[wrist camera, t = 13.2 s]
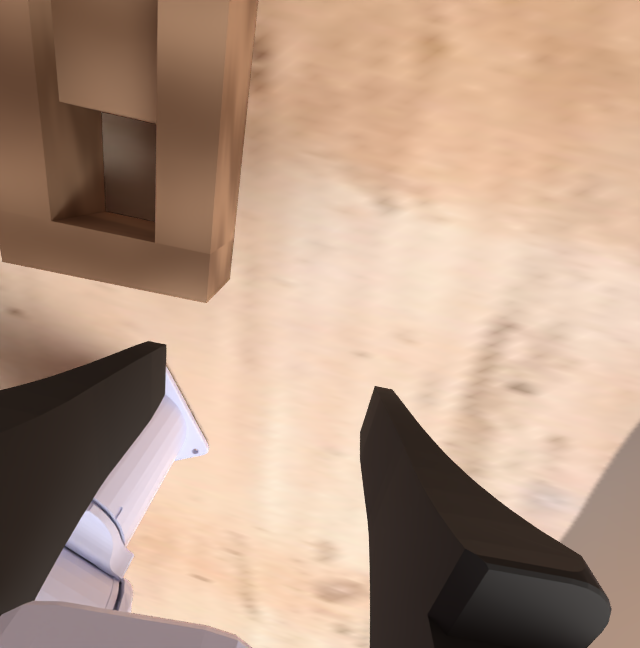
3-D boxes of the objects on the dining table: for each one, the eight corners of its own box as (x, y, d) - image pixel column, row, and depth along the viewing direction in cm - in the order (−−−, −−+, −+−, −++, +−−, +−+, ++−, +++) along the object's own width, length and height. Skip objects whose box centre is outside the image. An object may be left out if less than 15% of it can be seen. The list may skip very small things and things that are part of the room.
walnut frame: (229, 279, 21) (206, 303, 18) (63, 245, 21) (2, 261, 17) (265, -76, 15) (241, -160, 11) (27, -136, 15) (-83, -245, 11)
